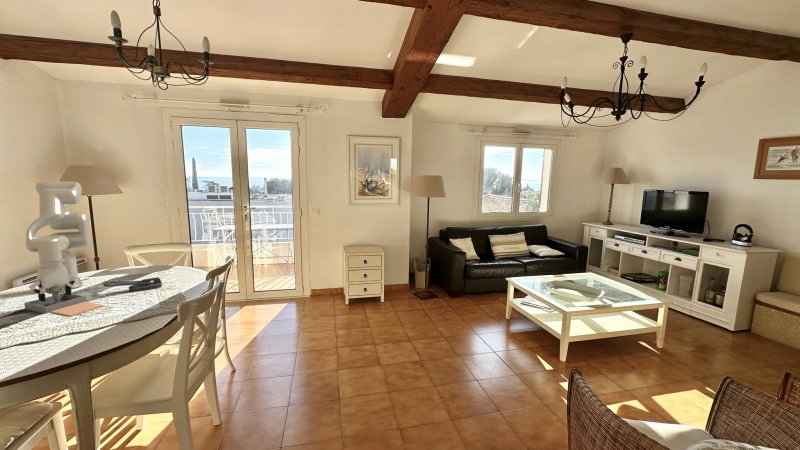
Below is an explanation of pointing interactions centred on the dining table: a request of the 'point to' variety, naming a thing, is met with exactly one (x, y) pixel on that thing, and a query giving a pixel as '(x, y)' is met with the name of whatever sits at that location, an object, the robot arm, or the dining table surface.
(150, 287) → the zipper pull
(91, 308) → the rubber mat
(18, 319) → the dining table surface
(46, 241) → the robot arm
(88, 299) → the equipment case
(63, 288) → the mechanical component
